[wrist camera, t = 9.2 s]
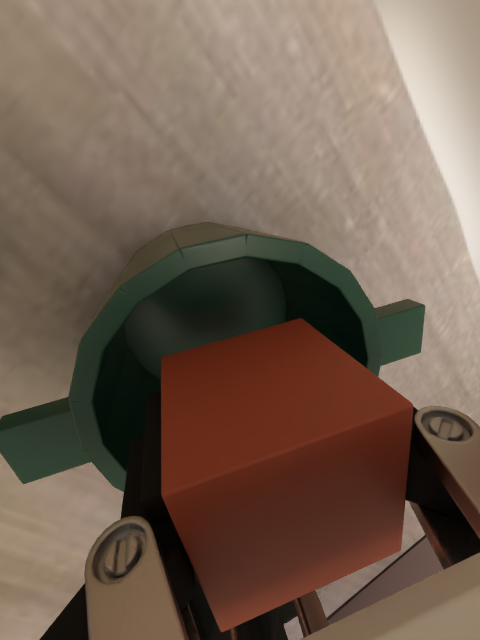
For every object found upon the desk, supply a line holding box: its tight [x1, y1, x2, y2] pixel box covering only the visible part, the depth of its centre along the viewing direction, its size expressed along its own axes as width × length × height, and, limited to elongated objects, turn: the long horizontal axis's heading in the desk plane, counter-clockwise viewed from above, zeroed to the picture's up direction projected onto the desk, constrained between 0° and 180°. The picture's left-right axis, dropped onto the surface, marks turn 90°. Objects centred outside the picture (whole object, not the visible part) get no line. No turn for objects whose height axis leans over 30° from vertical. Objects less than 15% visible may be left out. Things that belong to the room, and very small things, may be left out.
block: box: [161, 318, 413, 632], centre depth 8 cm, size 5×5×5 cm
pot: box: [0, 222, 425, 492], centre depth 14 cm, size 11×17×8 cm
